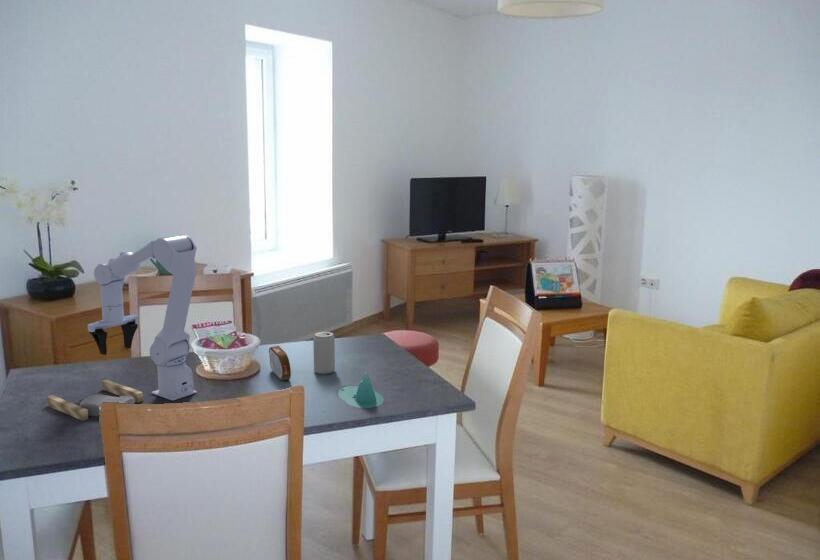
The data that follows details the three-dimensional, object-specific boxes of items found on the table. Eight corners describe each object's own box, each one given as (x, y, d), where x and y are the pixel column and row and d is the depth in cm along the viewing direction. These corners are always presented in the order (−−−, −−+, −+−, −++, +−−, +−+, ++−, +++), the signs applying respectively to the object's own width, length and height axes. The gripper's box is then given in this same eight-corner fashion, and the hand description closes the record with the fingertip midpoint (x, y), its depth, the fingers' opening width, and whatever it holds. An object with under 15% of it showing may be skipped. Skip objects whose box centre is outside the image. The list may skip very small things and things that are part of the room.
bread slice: (292, 383, 202) (291, 355, 200) (281, 384, 200) (280, 356, 199) (277, 368, 215) (277, 342, 213) (267, 369, 214) (267, 343, 212)
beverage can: (338, 372, 211) (338, 334, 209) (319, 376, 207) (319, 337, 205) (329, 367, 216) (328, 330, 214) (310, 370, 213) (309, 332, 210)
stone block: (97, 409, 185) (75, 416, 175) (98, 391, 185) (76, 397, 175) (139, 413, 184) (120, 421, 174) (140, 395, 184) (121, 401, 174)
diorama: (366, 383, 203) (366, 355, 202) (395, 406, 186) (395, 375, 184) (326, 389, 198) (326, 360, 196) (353, 413, 180) (352, 381, 179)
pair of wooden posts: (143, 401, 186) (142, 392, 186) (82, 420, 173) (81, 411, 172) (107, 387, 196) (106, 379, 196) (47, 405, 182) (46, 396, 182)
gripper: (127, 298, 204) (130, 342, 207) (80, 307, 193) (84, 354, 195) (141, 301, 200) (144, 347, 203) (94, 311, 189) (97, 358, 191)
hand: (115, 350), depth 199 cm, fingers open, 7 cm apart
